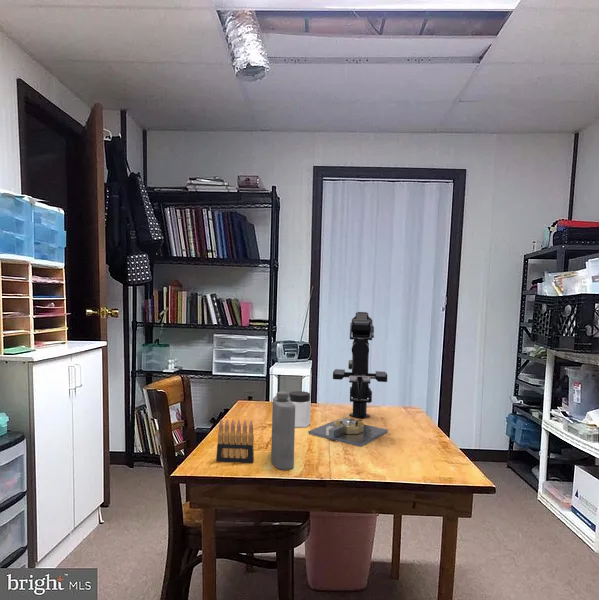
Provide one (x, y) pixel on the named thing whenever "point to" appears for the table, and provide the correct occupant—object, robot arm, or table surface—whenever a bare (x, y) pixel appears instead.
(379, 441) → the table surface
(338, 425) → the ring nut
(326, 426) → the cap plate
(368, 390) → the robot arm
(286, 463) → the flask
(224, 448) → the ammunition clip
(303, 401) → the jar
